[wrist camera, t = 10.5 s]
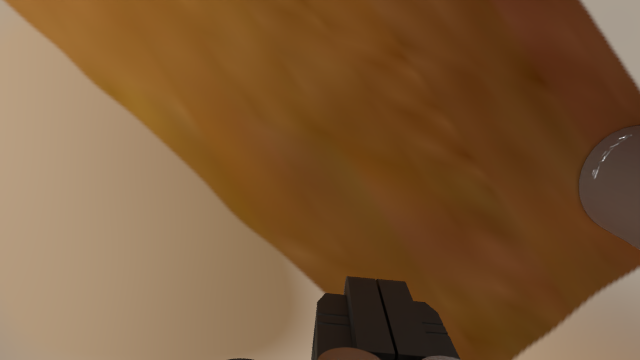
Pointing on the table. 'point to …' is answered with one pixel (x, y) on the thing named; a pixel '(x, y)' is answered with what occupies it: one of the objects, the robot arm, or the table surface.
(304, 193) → the table surface
